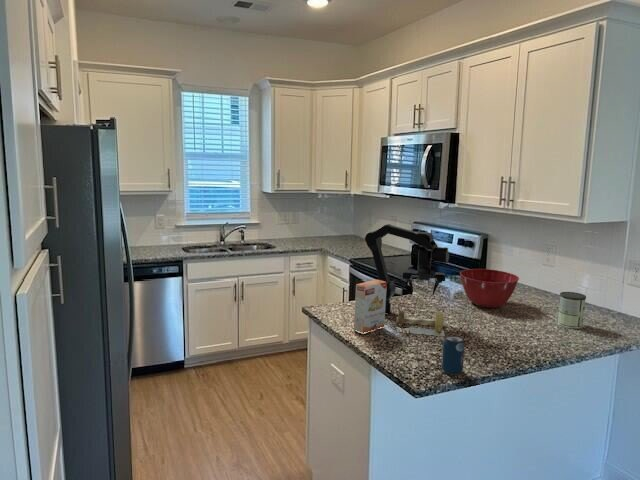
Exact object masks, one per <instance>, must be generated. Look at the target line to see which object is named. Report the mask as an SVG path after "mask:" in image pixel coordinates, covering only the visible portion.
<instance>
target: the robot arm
mask: <svg viewBox="0 0 640 480" xmlns="http://www.w3.org/2000/svg"><path fill="white" fill-rule="evenodd" d="M387 235H391V236H395V237H399V238H402V239H405V240H410V241H412V242H413V243H415V244H416V246H415V248H413V251H418V255H417V271H416V272H412V270H403V271H402V279H403V280H404V281H407V283H408V285H409V288H410V291H411V294H414V288H413V287H414V286H413V278H418V280H419V281H430V279H434V280H433V281H434V282H433V287H432V296H434V294H435V292H436V290H437V288H438V286H439V285H440V284H441V283H442V284H443V282H446V274H445V273H444V272H440V271H438V272H437V271H436V272H435V270H436V269H433V268H431V267H432V261H433V262H435V263H443V264H448V263H449V260H450V253H449V248H448V247H441V246H440V247H439V246H438V244H437V243H436V242H435V240H434V235H433V233H431V232H429V231H427V232H426V231H414V230H412V229H411V230H410V229H406V228H403V227H399V226H395V225H392V224H389V223H388V224H384V225H383V226H382V227H380V228H378V229H376V230H375V231H374V230H373V231H369V232H368V233H366V234H365V236H364V241H365V244H366V246H367V247H368V249H369V251H370V252H371V254H372V258H373V262H374V265H375V268H376V269H375V270H376V273H377V277H378V280H381V281H385V282H387V289H386V306H385V313H389V314H390V313H391V310H392V309H391V305H392V304H391V302H390V301H391V300H390V299H392V297H393V296H394V295H395V294H396V289H397V287H396V285H395V280H391V279H390V277H389V273H388V270H387V266H386V262H385V257H384V255H383V252H382V250H383V249H382V243H383V242H382V241H383V240H382V238H384V237H385V236H387Z"/></svg>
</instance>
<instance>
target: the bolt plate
mask: <svg viewBox="0 0 640 480" xmlns="http://www.w3.org/2000/svg"><path fill="white" fill-rule="evenodd" d="M408 327H409V326H408ZM408 330H410V332H411V333H414V334H413V335H419V334H425V335H424V336H431V335H434V336H433V337H443V336H444V337H445V338H446V335H445V331H444V329H442V330H440V331H438V330H436V329H435V328H423V327H412V326H411V327H409V329H408Z"/></svg>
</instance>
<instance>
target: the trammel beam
mask: <svg viewBox="0 0 640 480" xmlns="http://www.w3.org/2000/svg"><path fill="white" fill-rule="evenodd" d="M396 322H398V323H397V325H398V324H400V326H399V327H400V328H402V327H403V326H402V325H405V324H404V323H409V324H408V325H414V324H421V325H420V326H427V325H430V327H435V318H434V319H433V318H431V319H430V318H421V317H420V318H417V317H408V316H407V317H406V316H405V310H398V316H396ZM443 326H444V325H442V328H443Z"/></svg>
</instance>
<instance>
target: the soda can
mask: <svg viewBox="0 0 640 480" xmlns="http://www.w3.org/2000/svg"><path fill="white" fill-rule="evenodd" d="M465 346H466V345H465V342H464V339H463V337H461V336H459V335H455V334H453V335H451V334H450V335H445V338H444V340H443V343H442V360H441V369H442V370H443V372H444V374H446V375H449V374H450V375H449V376H459V375H461V373H462V372H463V370H464V361H465V360H464V358H465Z"/></svg>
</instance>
